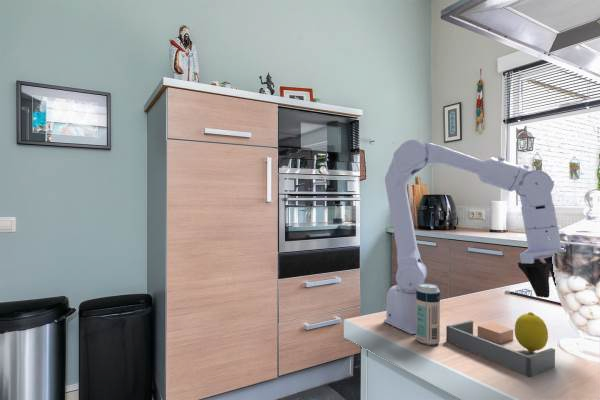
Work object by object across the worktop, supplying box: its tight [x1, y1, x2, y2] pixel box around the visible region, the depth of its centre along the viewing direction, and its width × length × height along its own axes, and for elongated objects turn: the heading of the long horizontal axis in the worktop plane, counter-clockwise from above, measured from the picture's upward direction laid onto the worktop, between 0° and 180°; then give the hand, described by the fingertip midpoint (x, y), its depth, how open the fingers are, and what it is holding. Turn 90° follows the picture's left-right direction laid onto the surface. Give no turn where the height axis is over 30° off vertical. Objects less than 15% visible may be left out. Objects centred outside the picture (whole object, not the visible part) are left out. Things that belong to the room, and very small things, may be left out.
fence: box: [445, 320, 556, 378], centre depth 68 cm, size 17×8×3 cm, turn 28°
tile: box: [477, 322, 514, 345], centre depth 76 cm, size 5×5×2 cm
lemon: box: [514, 311, 549, 354], centre depth 69 cm, size 6×6×8 cm
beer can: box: [415, 283, 441, 346], centre depth 73 cm, size 5×5×12 cm
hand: (552, 292), depth 71 cm, fingers open, 7 cm apart
